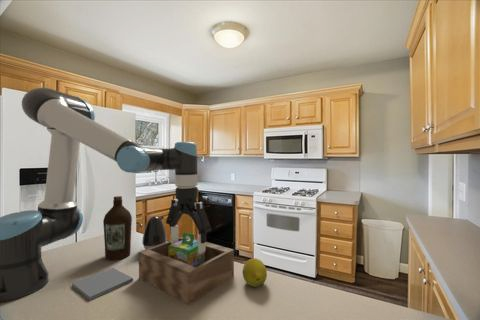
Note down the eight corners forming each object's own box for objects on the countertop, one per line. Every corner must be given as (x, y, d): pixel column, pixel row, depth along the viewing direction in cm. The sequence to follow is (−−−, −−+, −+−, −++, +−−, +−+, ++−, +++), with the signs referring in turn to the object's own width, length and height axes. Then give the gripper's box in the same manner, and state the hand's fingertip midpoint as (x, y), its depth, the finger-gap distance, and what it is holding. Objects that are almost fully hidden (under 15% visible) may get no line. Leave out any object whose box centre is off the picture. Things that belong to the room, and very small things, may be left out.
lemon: (243, 276, 81) (243, 253, 81) (266, 277, 81) (266, 253, 81) (241, 294, 70) (241, 267, 70) (267, 295, 70) (267, 268, 70)
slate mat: (72, 286, 75) (72, 283, 75) (113, 270, 86) (113, 267, 86) (89, 300, 67) (89, 296, 67) (132, 281, 78) (132, 278, 78)
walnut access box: (138, 278, 80) (138, 251, 80) (184, 257, 97) (184, 235, 97) (190, 304, 65) (189, 272, 65) (233, 275, 82) (233, 249, 82)
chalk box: (167, 279, 79) (167, 236, 79) (185, 268, 87) (185, 228, 87) (188, 286, 75) (188, 240, 75) (205, 274, 83) (205, 232, 83)
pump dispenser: (171, 248, 107) (171, 215, 107) (152, 256, 98) (152, 220, 98) (156, 244, 112) (156, 212, 112) (137, 251, 103) (137, 217, 103)
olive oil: (108, 252, 102) (107, 195, 102) (134, 249, 105) (134, 194, 105) (99, 262, 92) (99, 199, 92) (128, 259, 94) (128, 198, 94)
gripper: (221, 187, 77) (222, 252, 77) (172, 184, 91) (173, 238, 91) (205, 190, 71) (206, 260, 71) (155, 186, 85) (156, 244, 85)
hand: (187, 248), depth 81 cm, fingers open, 13 cm apart
